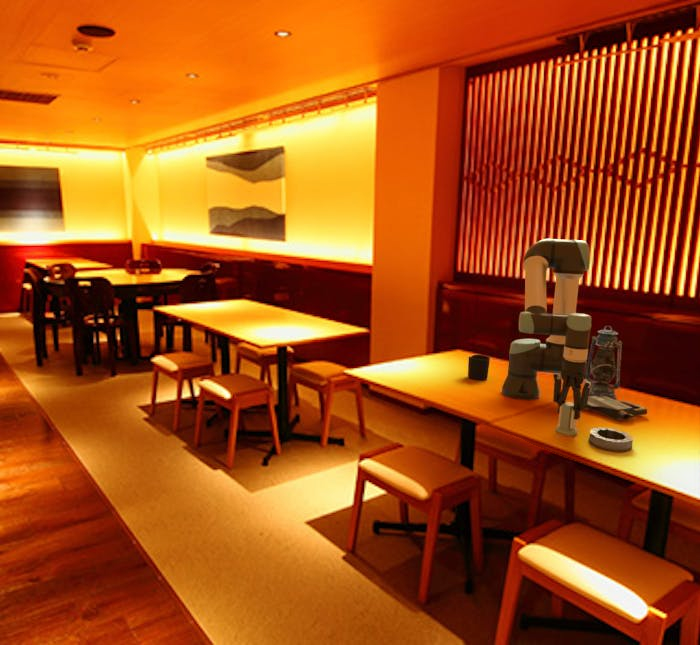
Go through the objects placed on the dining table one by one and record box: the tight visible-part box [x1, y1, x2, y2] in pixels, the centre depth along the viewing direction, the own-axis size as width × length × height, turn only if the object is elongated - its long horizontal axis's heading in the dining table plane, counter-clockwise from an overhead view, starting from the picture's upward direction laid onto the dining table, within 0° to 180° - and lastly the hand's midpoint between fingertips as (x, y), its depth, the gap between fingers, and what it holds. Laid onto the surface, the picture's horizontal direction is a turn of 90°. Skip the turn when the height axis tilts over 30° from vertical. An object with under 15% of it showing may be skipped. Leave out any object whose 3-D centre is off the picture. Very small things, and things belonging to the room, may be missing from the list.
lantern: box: [585, 325, 623, 400], centre depth 234 cm, size 15×12×30 cm
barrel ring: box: [588, 427, 634, 453], centre depth 183 cm, size 13×13×3 cm
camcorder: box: [586, 396, 648, 422], centre depth 215 cm, size 16×20×5 cm
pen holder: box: [467, 354, 491, 382], centre depth 255 cm, size 9×9×10 cm
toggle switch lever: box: [555, 401, 579, 437], centre depth 192 cm, size 7×7×10 cm
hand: (567, 425), depth 192 cm, fingers open, 4 cm apart
